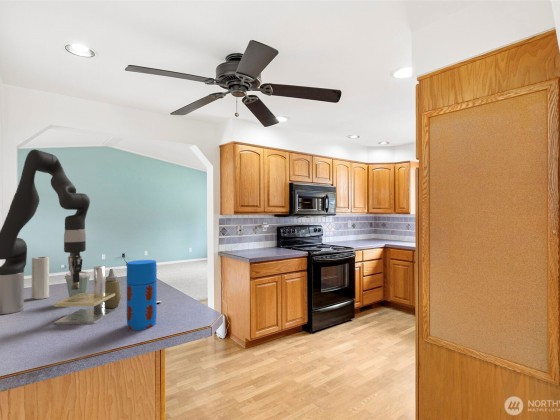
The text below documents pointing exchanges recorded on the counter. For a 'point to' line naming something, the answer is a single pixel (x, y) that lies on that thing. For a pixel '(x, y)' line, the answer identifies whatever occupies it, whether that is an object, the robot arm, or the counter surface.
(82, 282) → the disposable coffee cup
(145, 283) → the thermos
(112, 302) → the squeeze bottle
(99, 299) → the tan and silver stand
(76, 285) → the copper-capped metal rod
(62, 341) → the counter surface
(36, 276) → the paper towel roll
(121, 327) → the counter surface
